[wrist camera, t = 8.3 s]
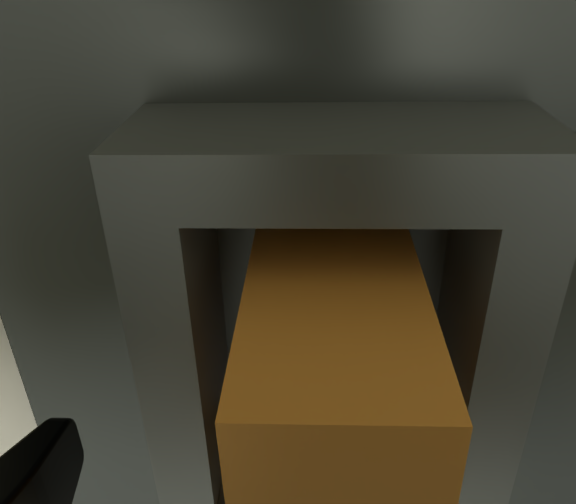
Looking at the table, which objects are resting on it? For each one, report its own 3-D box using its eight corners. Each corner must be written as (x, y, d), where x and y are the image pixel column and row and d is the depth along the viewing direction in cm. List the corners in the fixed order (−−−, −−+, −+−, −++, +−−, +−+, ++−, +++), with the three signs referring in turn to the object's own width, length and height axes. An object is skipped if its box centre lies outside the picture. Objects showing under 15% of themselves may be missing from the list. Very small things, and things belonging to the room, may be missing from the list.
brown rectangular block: (401, 208, 12) (472, 426, 6) (387, 387, 14) (430, 652, 9) (259, 209, 12) (215, 423, 6) (269, 386, 14) (242, 645, 9)
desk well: (828, -112, 9) (1092, -141, 6) (587, 514, 17) (647, 641, 14) (-115, -90, 10) (-310, -104, 7) (73, 500, 18) (22, 617, 15)
